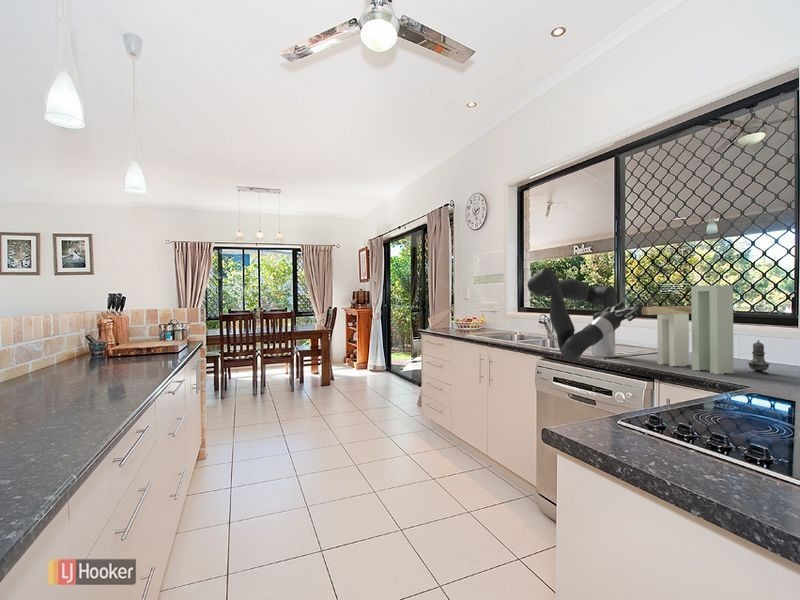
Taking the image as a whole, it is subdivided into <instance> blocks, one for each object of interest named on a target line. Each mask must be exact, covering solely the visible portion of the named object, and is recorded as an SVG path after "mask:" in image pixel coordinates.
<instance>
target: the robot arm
mask: <svg viewBox="0 0 800 600" xmlns="http://www.w3.org/2000/svg"><path fill="white" fill-rule="evenodd" d="M527 289H528V290H529V291H530V293H532V294H534V295H536V296H539V297H550V305H549V308H550V309H549V319H550V322H551V325H552V327H553V329H554V332H555V334H556V340H557V344H558V349H559V351H560V353H561V356H562V357H563V358H564V359H565V360H567V361H569V362H574V361H577V360H578V359H579V358H581V356H582V354H583V353H584V352H585V351H586V350H587V349H589V348H590V347H591V355H592V356H594V357H599V358H615V357H616V330H617V329H619V328H620V326H621V323H622V322H623V321H624V320H627V321H628V322H631V321H633V320H634V319H636V318H637V317H638V316H641V315H642V311H641V310H642V308H643V307H645V305H644V304H643V302H642V301H639V302H638V303H636V304H634V306H632V307H626V305H625V303H624V301H619V303H617V301H618V300H617V297H618V293H617V291H616V288H615V287H614V286H612V285H601V286H600V285H598V286H587V284H586V283H585V282H583V281H581V280H578V279H573V278H566V279H561V280H559V277H558V275H557V274H556V272H555V271H554V270H553V269H552V268H550V267H542V268H541V269H539V271H537V272H536V273H535V274H534V275H532V276H531V277H530V278H529V280H527ZM565 300H569V301H574V302H575V301H577V302H585V303H588V304H591V305H593V306H599V307H600V306H602V309H601V310H599V311H597V312H595V313H593V314H592V321H590V322H589V324H588V325H586V326H585V327H584V328H582V329H581V330H580V331H577V332H575V331H576V330H575V325H574V324H573V321H572V319H571V317H570V315H569V312H568V310H567V307H566V304H565V303H566V302H565ZM624 307H625V308H624Z"/></svg>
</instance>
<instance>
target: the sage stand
mask: <svg viewBox="0 0 800 600" xmlns="http://www.w3.org/2000/svg"><path fill="white" fill-rule="evenodd" d="M690 287H691V288H690V292H691V293H690V295H691V297H690V298H691V305H690V306H691V308H692V313H691V370H692V371H694V370H698V371H697V372H701V371H700V370H707V371H709V372H710V373H709V374H711V373H715V374H714V375H717V374H719V375H725V374H724V373H729V374H734V372H735V371H734V362H735V361H734V284H732V285H727V284H725V285H721V284H719V285H715V284H714V285H691V286H690Z"/></svg>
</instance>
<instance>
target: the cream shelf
mask: <svg viewBox="0 0 800 600" xmlns="http://www.w3.org/2000/svg"><path fill="white" fill-rule="evenodd" d="M656 318H657V319H656V320H657V321H656V322H657V365H661V364H662V365H663V364H666V365H668V366H669V367H672V366H679V367H687V365H689V366H690V319H689V318H690V314H660V315H657V317H656ZM662 365H661V366H662ZM663 366H664V365H663Z"/></svg>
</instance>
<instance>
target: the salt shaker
mask: <svg viewBox="0 0 800 600" xmlns="http://www.w3.org/2000/svg"><path fill="white" fill-rule="evenodd" d="M751 353H752V360H751V361H748V362H747V364H748V366H749V368H750V369H751V370H750V371H748V373H749V374H754V375H761V376H762V375H763V376H765V375H767V376H769V375H770V374H769V372H767V370H768V369H769V367H770V364H771V363H768V362H766V360H765V355H766V352H765V345H764V343H762V342H761V341H760V340H757V341H756V342H754V343H753V344H752V351H751Z"/></svg>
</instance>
